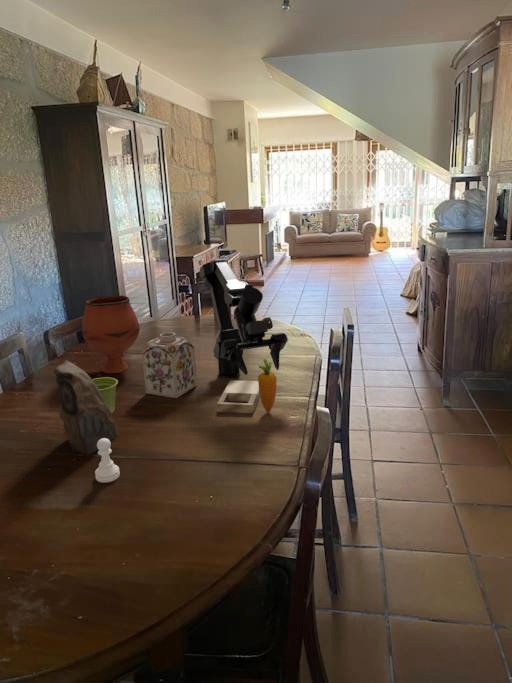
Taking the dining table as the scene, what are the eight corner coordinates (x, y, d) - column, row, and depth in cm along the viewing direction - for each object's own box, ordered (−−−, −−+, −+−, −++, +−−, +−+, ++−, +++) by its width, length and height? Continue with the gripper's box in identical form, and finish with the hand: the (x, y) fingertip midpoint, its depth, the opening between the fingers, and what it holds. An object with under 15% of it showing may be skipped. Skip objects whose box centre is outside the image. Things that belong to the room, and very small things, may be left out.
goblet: (132, 357, 189) (125, 291, 182) (151, 370, 174) (145, 299, 167) (80, 367, 179) (71, 298, 172) (96, 383, 164) (86, 308, 157)
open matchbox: (217, 411, 139) (216, 403, 139) (230, 387, 156) (230, 380, 156) (253, 413, 138) (252, 404, 137) (262, 388, 155) (262, 381, 154)
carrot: (275, 416, 135) (274, 363, 131) (257, 415, 136) (255, 363, 132) (278, 409, 140) (277, 357, 136) (260, 408, 141) (259, 357, 137)
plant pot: (127, 407, 144) (124, 378, 142) (107, 421, 136) (104, 391, 133) (99, 403, 147) (96, 375, 145) (79, 417, 139) (75, 387, 136)
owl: (87, 458, 117) (76, 377, 111) (45, 449, 121) (32, 371, 116) (121, 434, 128) (112, 359, 122) (81, 427, 133) (70, 355, 127)
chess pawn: (101, 470, 112) (96, 433, 109) (123, 470, 111) (118, 433, 108) (91, 482, 107) (86, 444, 104) (114, 483, 106) (110, 444, 104)
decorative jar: (198, 385, 159) (194, 330, 154) (177, 399, 149) (173, 341, 144) (166, 381, 164) (162, 327, 159) (144, 393, 154) (139, 337, 149)
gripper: (221, 311, 135) (236, 362, 128) (284, 304, 141) (302, 352, 134) (214, 333, 144) (227, 381, 137) (274, 325, 151) (290, 371, 144)
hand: (262, 371), depth 138 cm, fingers open, 9 cm apart
